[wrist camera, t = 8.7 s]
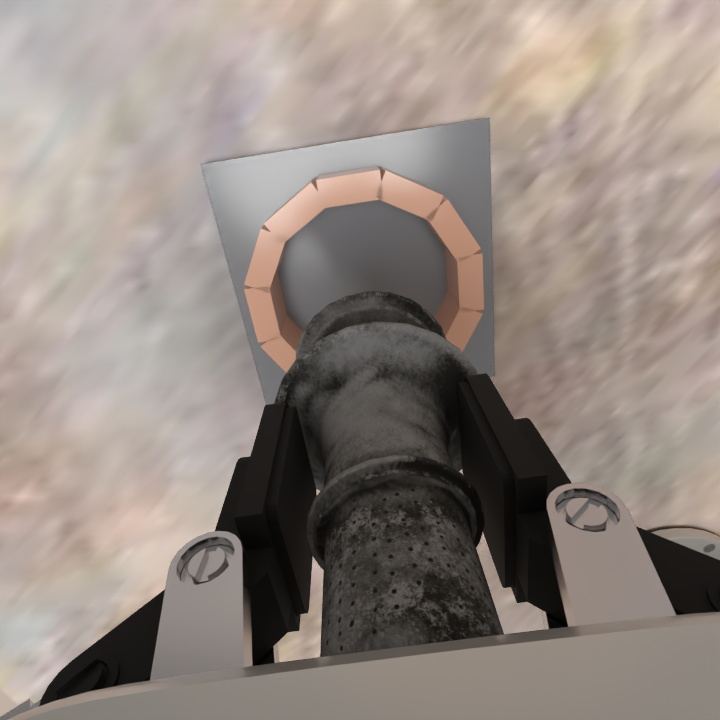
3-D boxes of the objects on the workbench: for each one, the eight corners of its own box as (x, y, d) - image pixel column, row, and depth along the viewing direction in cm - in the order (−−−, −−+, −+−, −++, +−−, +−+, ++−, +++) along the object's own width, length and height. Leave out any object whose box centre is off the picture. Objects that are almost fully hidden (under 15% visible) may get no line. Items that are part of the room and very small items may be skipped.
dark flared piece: (259, 398, 16) (101, 913, 6) (333, 249, 14) (308, 621, 3) (404, 457, 18) (502, 963, 7) (492, 329, 15) (836, 778, 5)
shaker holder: (483, 118, 23) (509, 115, 19) (490, 368, 29) (510, 401, 25) (206, 163, 23) (180, 168, 20) (269, 399, 29) (259, 436, 26)
